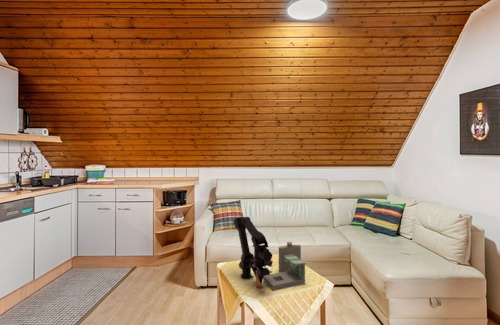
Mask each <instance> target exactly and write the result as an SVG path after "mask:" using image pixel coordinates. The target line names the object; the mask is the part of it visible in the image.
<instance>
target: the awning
mask: <svg viewBox="0 0 500 325" xmlns="http://www.w3.org/2000/svg"><path fill="white" fill-rule="evenodd" d="M283 260H284V261H285V262H287V263H288V264H289V265H290V266H292V271H293V272H295V273H296V274H297V275H298V276H300V277H301V278H302V279H305V280H306V262H305V261H304V260H302V258H301V259H299V258H298V257H296V256H295V255H293V254H291V255H286V256H283Z"/></svg>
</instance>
